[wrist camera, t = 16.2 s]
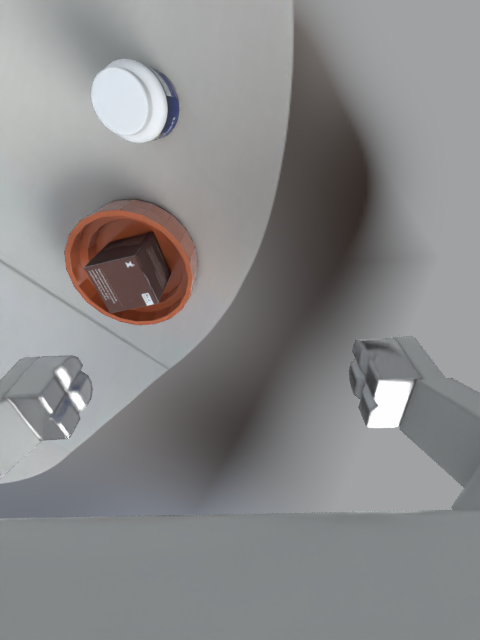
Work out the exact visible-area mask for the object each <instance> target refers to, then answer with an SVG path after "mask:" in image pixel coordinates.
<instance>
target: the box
mask: <svg viewBox="0 0 480 640" xmlns="http://www.w3.org/2000/svg"><path fill="white" fill-rule="evenodd" d="M84 270H85V271H86V273H87V275H88V276H89V278H90V280H91V282H92V283H93V285H94V286H95V288H96V290H97V292H98V293H99V295H100V297H101V298H102V300H103V302H104V303H105V305H106V307H107V308H108V310H109V312H110V313H115V312H119V311H124V310H129V309H133V308H138V307H143V306H148V305H153V304H157V303H159V301H160V298H161V296H162V294H163V291H164V289H165V287H166V285H167V282H168V280H169V277H170V275H171V272H170V270H169V267H168V265H167V263H166V260H165V258H164V255H163V253H162V251H161V248H160V246H159V244H158V241H157V239H156V236H155V234H154V232H153V231H152V232H148V233H144V234H140V235H136V236H132V237H128V238H124V239H120V240H116V241H112V242H109V243H108V244H107V245H106V246H105V247H104V248H103V249H102V250H101V251H100V252H99V253H98V254H97V255H96V256H95V257H94V258H93V259H92V260H91V261H90V262H89V263H88V264H87V265H86V266H85V267H84Z"/></svg>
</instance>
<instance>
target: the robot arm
mask: <svg viewBox="0 0 480 640" xmlns="http://www.w3.org/2000/svg"><path fill="white" fill-rule="evenodd" d="M352 352H353V354H354V356H355V359H354V360H353V361H352V362H351V363H350V369H349V376H350V377H349V378H350V384H351V388H352V391H353V393H354V395H355V396H356V397H358V398H359V399H360V404H359V410H360V412H361V415H362V417H363V420H364V422H365V425H366V427H367V428H399V429H400V430H401V431H402V432H403V433H404V434H405V435H406V436H407V437H408V438H410V439H411V440H412V441H413V442H414V443H415V444H416V445H417V446H418V447H420V448H421V449H422V450H423V451H424V452H425V453H426V454H427V455H428V456H430V457H431V458H432V459H433V460H434V461H435V462H436V463H437V464H438V465H439V466H440V467H442V468H443V469H444V470H445V471H446V472H447V473H448V474H449V475H451V476H452V477H453V478H454V479H455V480H456V481H457V482H458V483H459V484H460V485H461V486H463V487H464V489H463V490H462V492H461V493H460V495H459V496H458V498H457V499H456V501H455V502H454V504H453V506H452V510H431V511H430V510H429V511H382V512H381V511H380V512H325V513H324V512H322V513H268V514H214V515H161V516H114V517H113V516H110V517H109V516H107V517H59V518H58V517H56V518H8V519H0V640H480V393H479V392H477V391H475V390H473V389H472V388H470V387H468V386H466V385H464V384H462V383H460V382H458V381H457V380H455V379H453V378H445V376H444V375H443V374H442V372H441V371H440V370H439V369H438V367H437V366H436V365H435V363H434V362H433V361H432V359H431V358H430V357H429V355H428V354H427V353H426V351H425V350H424V349H423V347H422V346H421V345H420V343H419V342H418V341H417V340H416V338H414V337H412V336H406V337H393V338H383V339H366V340H355V343H354V345H353V350H352ZM82 366H83V365H82V363H81V361H80V360H79V358H78V357H76V356H42V357H25V358H23V359H20V360H19V361H18V362H17V363H16V364H15V365H14V366H13V367H12V368H11V369H10V370H9V371H8V373H7V374H6V375H5V376H4V377H3V378H2V379H1V380H0V479H1V478H2V477H3V476H4V475H5V474H6V473H7V472H9V471H10V470H11V469H12V468H13V467H14V466H15V465H16V464H17V463H18V462H20V461H21V460H22V459H23V458H24V457H25V456H26V455H27V454H28V453H30V452H31V451H32V450H33V449H34V448H35V447H36V446H37V445H38V444H39V443H41V441H42V440H57V439H70V437H71V435H72V433H73V431H74V430H75V428H76V426H77V424H78V422H79V420H80V416H79V412H80V411H82V410H83V409H84V408H86V407H87V406H88V404H89V402H90V400H91V396H92V390H93V388H92V383H91V380H90V378H89V376H88V375H86V374H85V373H83V372H82V371H81V369H82Z"/></svg>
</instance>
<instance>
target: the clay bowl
mask: <svg viewBox="0 0 480 640" xmlns="http://www.w3.org/2000/svg"><path fill="white" fill-rule="evenodd" d="M152 231H153V232H154V234H155V236H156V239H157V241H158V244H159V246H160V248H161V251H162V253H163V255H164V258H165V260H166V263H167V265H168V267H169V270H170V272H171V275H170V277H169V280H168V282H167V285H166V287H165V289H164V291H163V294H162V296H161V298H160V301H159V303H157V304H153V305H148V306H143V307H138V308H133V309H129V310H124V311H119V312H115V313H110V312H109V310H108V308H107V307H106V305H105V303H104V302H103V300H102V298H101V297H100V295H99V293H98V292H97V290H96V288H95V286H94V285H93V283H92V282H91V280H90V278H89V276H88V275H87V273H86V271H85V270H84V267H85V266H86V265H87V264H88V263H89V262H90V261H91V260H92V259H93V258H94V257H95V256H96V255H97V254H98V253H99V252H100V251H101V250H102V249H103V248H104V247H105V246H106V245H107V244H108V243H109V242H112V241H116V240H120V239H124V238H128V237H132V236H136V235H140V234H144V233H148V232H152ZM65 261H66V270H67V272H68V274H69V276H70V279H71V281H72V283H73V285H74V287H75V288H76V290H77V291H78V292H79V293H80V294H81V296H82V297H83V298H84V299H85V301H86V302H87V303H89V304H90V305H91V306H93V307H94V308H95V309H97V310H98V311H99V312H101V313H102V314H104V315H106V316H108V317H111V318H113V319H115V320H117V321H120V322H124V323H129V324H135V325H149V324H157V323H159V322H162V321H165V320H168V319H170V318H172V317H173V316H174V315H175V314H177V313H178V312H179V311H180V310H182V309H183V307H184V306H185V304H186V302H187V300H188V299H189V297H190V295H191V292H192V289H193V285H194V282H195V279H196V273H197V267H198V260H197V254H196V249H195V245H194V244H193V242H192V240H191V238H190V236H189V234H188V232H187V230H186V229H185V228H184V227H183V226H182V225H181V224H180V223H179V222H178V221H177V220H176V218H175V217H174V216H173V215H171V214H170V213H168V212H166V211H164V210H163V209H161V208H159V207H158V206H156V205H154V204H151V203H147V202H143V201H138V200H133V199H132V200H121V201H113V202H111V203H109V204H107V205H105V206H103V207H101V208H99V209H97V210H96V211H94V212H93V213H91V214H90V215H88V216H87V217H85V218H83V219H82V220H81V221H80V222H79V223H78V224H77V225H76V227H75V228H74V229H73V230H72V231H71V233H70V234H69V237H68V241H67V244H66V248H65Z"/></svg>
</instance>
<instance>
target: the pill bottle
mask: <svg viewBox="0 0 480 640" xmlns="http://www.w3.org/2000/svg"><path fill="white" fill-rule="evenodd" d="M91 99H92V104H93V107H94V110H95V112H96V114H97V116H98V118H99V119H100V121H101V122H102V123H103V124H104V125H105V126H106V127H107V128H108V129H109V130H111V131H112V132H114V133H116V134H117V135H118V136H120V137H121V138H123V139H125V140H127V141H130V142H134V143H145V142H149V141H152V140H156V139H159V138H162V137H165V136H167V135H168V134H170V133H171V132H172V131H173V130H174V129H175V127H176V125H177V123H178V121H179V117H180V100H179V96H178V94H177V91H176V89H175V87H174V86H173V84H172V83H171V81H170V80H169V79H168V78H167V77H166V76H165V75H163V74H162V73H160V72H158V71H157V70H155V69H153V68H150V67H148V66H146V65H144V64H142V63H140V62H138V61H135V60H131V59H119V60H115V61H113V62H111V63H110V64H109V65H107V66H106V67H105V68H104V69H103V70H101V71H100V72H99V73H98V74H97V75H96V77H95V78H94V80H93V83H92V88H91Z"/></svg>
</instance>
